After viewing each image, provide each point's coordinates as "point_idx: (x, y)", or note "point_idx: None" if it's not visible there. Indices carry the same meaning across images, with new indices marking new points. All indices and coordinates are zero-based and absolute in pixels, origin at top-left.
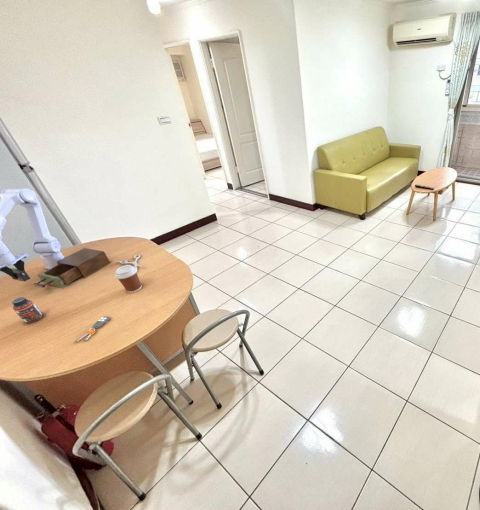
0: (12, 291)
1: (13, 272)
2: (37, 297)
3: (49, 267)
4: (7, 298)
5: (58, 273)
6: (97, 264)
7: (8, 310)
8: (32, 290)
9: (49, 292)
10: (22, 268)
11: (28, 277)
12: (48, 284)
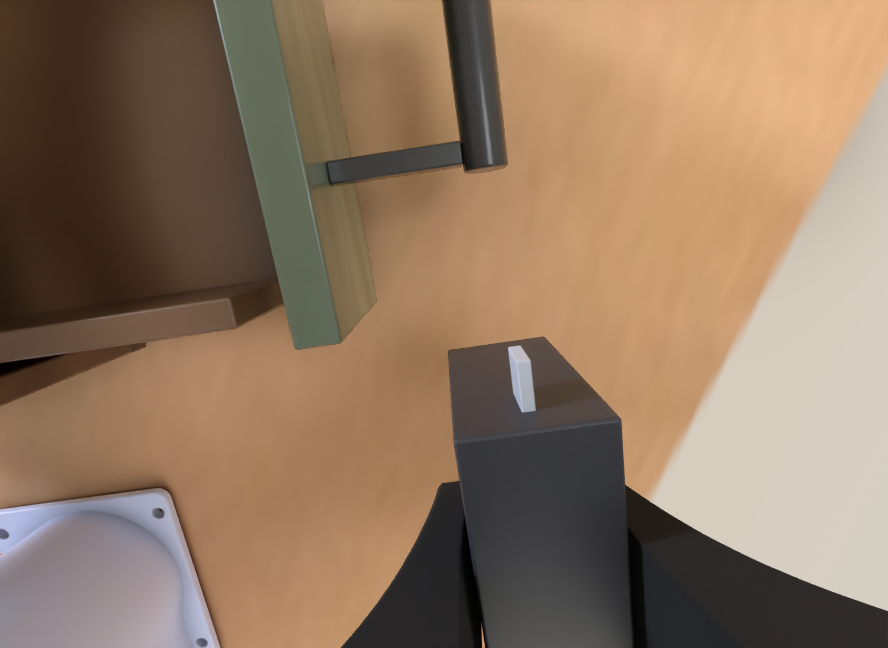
0: None
1: (656, 564)
2: (562, 69)
3: (188, 625)
4: (688, 398)
5: (160, 297)
6: None
7: (836, 110)
8: (502, 311)
9: (439, 39)
10: (429, 586)
11: (467, 358)
12: (360, 211)
